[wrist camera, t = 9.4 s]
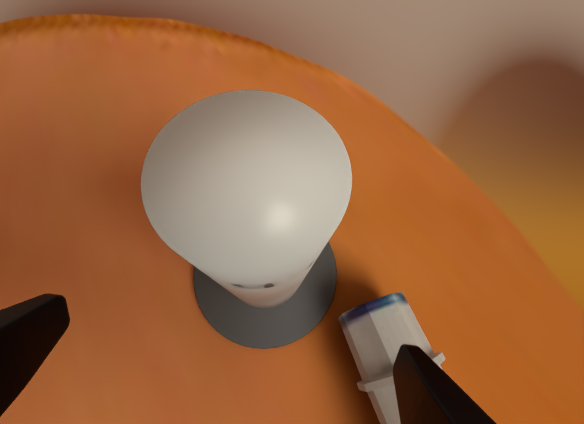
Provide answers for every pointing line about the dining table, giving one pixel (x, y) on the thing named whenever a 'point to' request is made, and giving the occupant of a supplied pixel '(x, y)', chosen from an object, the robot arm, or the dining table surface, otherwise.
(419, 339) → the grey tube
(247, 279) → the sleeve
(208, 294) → the pad
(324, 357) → the dining table surface
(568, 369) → the dining table surface
